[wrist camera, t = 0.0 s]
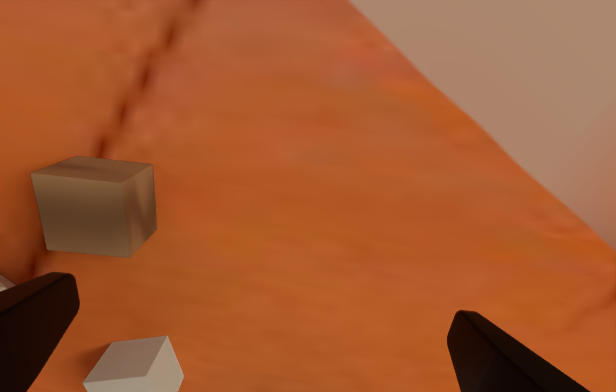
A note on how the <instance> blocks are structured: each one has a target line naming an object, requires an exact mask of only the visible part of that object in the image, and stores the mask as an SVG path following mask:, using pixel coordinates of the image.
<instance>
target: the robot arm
mask: <svg viewBox="0 0 616 392" xmlns="http://www.w3.org/2000/svg"><path fill="white" fill-rule="evenodd" d="M79 306H80V300H79V295H78V290H77V284H76V279H75V277H74V276H73V275H72V274H70V273H61V272H51V273H48V274H45V275H43V276H40V277H37V278H35V279H32V280H29V281H27V282H24V283H21V284H19V285H16V286H13V287H11V288H8V289H5V290H3V291H0V392H27V390H28V389H29V387H30V386H31V385H32V383H33V382H34V381H35V379H36V378H37V376H38V375H39V373H40V372H41V370H42V369H43V367H44V365H45V364H46V362H47V361H48V359H49V357H50V356H51V354H52V353H53V351H54V349H55V348H56V346H57V345H58V343H59V341H60V340H61V338H62V337H63V335H64V333H65V332H66V330H67V329H68V327H69V325H70V324H71V322H72V321H73V319H74V317H75V316H76V314H77V312H78V310H79ZM447 345H448V349H449V352H450V356H451V359H452V363H453V366H454V370H455V373H456V376H457V380H458V383H459V387H460V390H461V392H590V391H589V390H587V389H586V388H584V387H583V386H582V385H580V384H579V383H577V382H576V381H574V380H573V379H572V378H570V377H569V376H567V375H566V374H564V373H563V372H562V371H560V370H559V369H557V368H556V367H554V366H553V365H552V364H550V363H549V362H547V361H546V360H544V359H543V358H542V357H540V356H539V355H537V354H536V353H534V352H533V351H532V350H530V349H529V348H527V347H526V346H524V345H523V344H522V343H520V342H519V341H517V340H516V339H514V338H513V337H512V336H510V335H509V334H507V333H506V332H505V331H503V330H502V329H500V328H499V327H497V326H496V325H495V324H493V323H492V322H490V321H489V320H487V319H486V318H485V317H483V316H482V315H480V314H479V313H477V312H475V311H466V310H459V311H458V312H457V313H456V314H455V316H454V319H453V322H452V324H451V327H450V330H449V332H448V335H447Z"/></svg>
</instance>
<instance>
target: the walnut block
mask: <svg viewBox="0 0 616 392" xmlns="http://www.w3.org/2000/svg"><path fill="white" fill-rule="evenodd" d="M30 174H31V179H32V183H33V188H34V192H35V197H36V201H37V206H38V210H39V215H40V220H41V224H42V229H43V233H44V238H45V242H46V247H47V250H55V251H65V252H75V253H85V254H95V255H105V256H116V257H126V258H130V257H131V256H132V255H133V254H134V253H135V252H136V251H137V250H138V248H139V247H140V246H141V245H142V244H143V243H144V242H145V241H146V240H147V239H148V238H149V237H150V236H151V235H152V234H153V233H154V232H155V231H156V230H157V219H156V204H155V189H154V174H153V164H146V163H137V162H128V161H119V160H110V159H101V158H92V157H83V156H76V157H73V158H70V159H67V160H65V161H62V162H59V163H57V164H54V165H51V166H48V167H46V168H43V169H40V170H37V171H35V172H32V173H30Z"/></svg>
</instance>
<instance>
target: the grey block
mask: <svg viewBox="0 0 616 392" xmlns="http://www.w3.org/2000/svg"><path fill="white" fill-rule="evenodd" d="M183 378H184V375H183V372H182V370H181V368H180V365H179V363H178V360H177V358H176V355H175V353H174V351H173V348H172V346H171V343H170V341H169V338H168V336H160V337H152V338H143V339H135V340H126V341H118V342H112V343H111V344H110V346H109V347H108V348H107V350H106V351H105V353H104V354H103V355H102V357H101V358H100V360H99V361H98V362H97V364H96V365H95V366H94V368H93V369H92V371H91V372H90V373H89V375H88V376H87V378H86V379H85V380H84V382H83V385H84V387H85V388H86V390H87V392H178V390H179V388H180V385H181V383H182V380H183Z"/></svg>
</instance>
